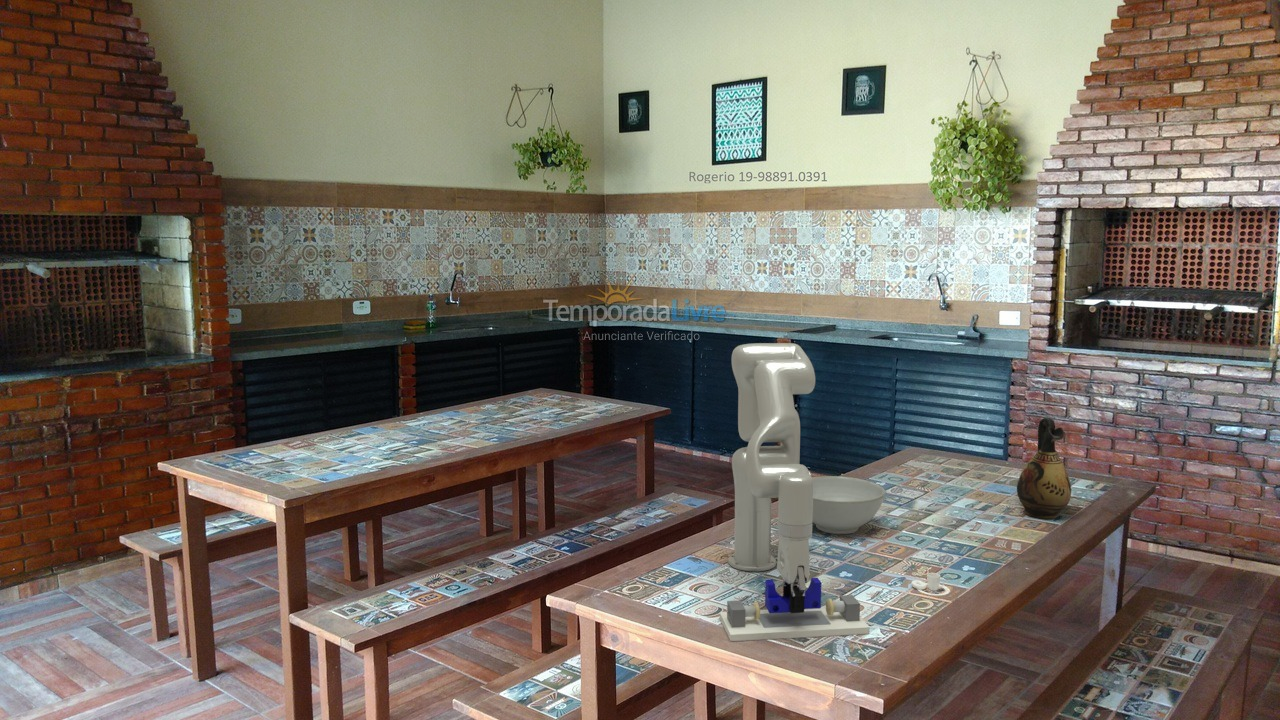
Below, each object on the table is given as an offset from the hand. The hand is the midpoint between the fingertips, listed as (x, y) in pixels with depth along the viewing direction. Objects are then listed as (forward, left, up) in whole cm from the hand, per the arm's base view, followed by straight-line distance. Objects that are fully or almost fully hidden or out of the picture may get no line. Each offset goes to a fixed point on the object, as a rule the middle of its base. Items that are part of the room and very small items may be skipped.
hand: (793, 606), depth 208 cm
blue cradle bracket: (0, 0, -1) cm, 1 cm away
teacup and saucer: (-20, +40, -5) cm, 45 cm away
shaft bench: (0, 0, -5) cm, 5 cm away
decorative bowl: (-65, +32, -5) cm, 73 cm away
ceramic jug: (-70, +99, -5) cm, 121 cm away
